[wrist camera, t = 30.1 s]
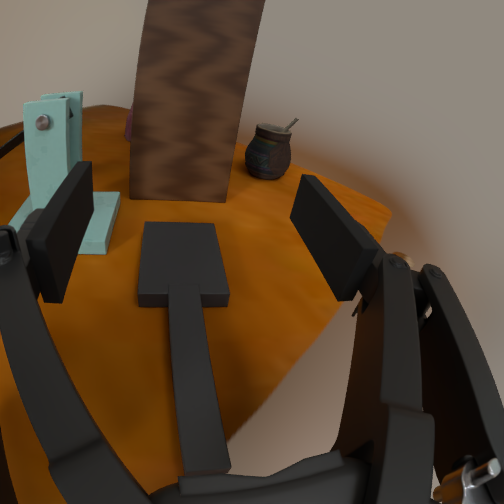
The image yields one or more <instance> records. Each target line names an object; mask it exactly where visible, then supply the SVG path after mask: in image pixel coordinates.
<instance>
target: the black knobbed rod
mask: <svg viewBox="0 0 504 504" xmlns="http://www.w3.org/2000/svg"><path fill="white" fill-rule="evenodd" d="M60 98H66V97H65V96H62V97H60ZM58 99H59V98H58ZM73 116H74V115H73V113H72V111H71V108H70V109H69V119H71V118H72V117H73ZM23 141H25V140H24V130H23V131H21V132H20V133H19V134H17V135H16V136H15V137H13V138H12V139H11V140H9V141H8V142H7V143H5V144H4V145H3V146H2V147H0V159H1V158H2V157H3V156H5V155H6V154H7V153H8V152H10V151H11V150H12V149H14V148H15V147H16V146H18V145H19V144H20V143H22V142H23Z"/></svg>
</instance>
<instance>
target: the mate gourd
mask: <svg viewBox="0 0 504 504" xmlns="http://www.w3.org/2000/svg"><path fill="white" fill-rule="evenodd" d="M297 121H298V119H296V118H295V119H294V121H292V122H291V123H290V124H289V125H288V126H287V127H285V128H283V127H280V126H276V125H271V124H263V123H262V124H258V125H257V127H256V131H255V132H256V134H255V136H254V138H253V140H252V141H251V142H250V144H249V145H248V147H247V149H246V152H245V161H246V162H245V164H246V167H247V169H248V170H249V171H250V173H251V174H252V175H254V176H256V177H259V178H262V179H276V178H279V177H281V176H282V175H284V173H285V171H286V170H287V169H288V167H289V165H290V160H291V150H290V144H289V141H290V138H291V134H292V133H291V132H290V131H289V130H288V129H289V128H290V127H291V126H292V125H294V124H295V123H296V122H297Z"/></svg>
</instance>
